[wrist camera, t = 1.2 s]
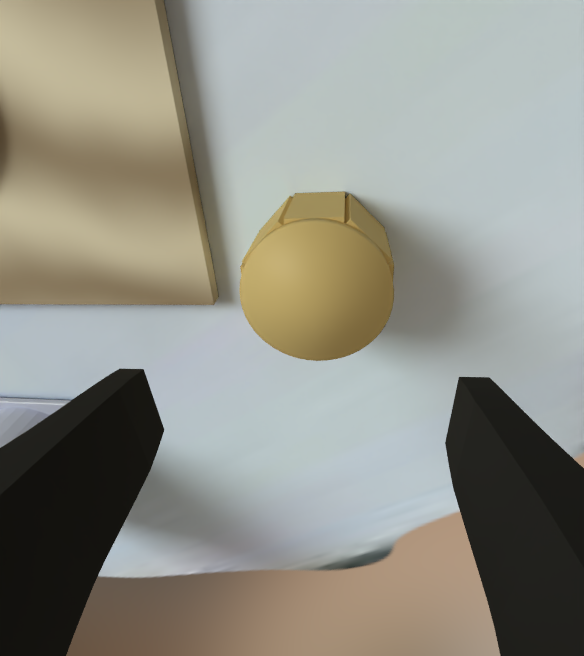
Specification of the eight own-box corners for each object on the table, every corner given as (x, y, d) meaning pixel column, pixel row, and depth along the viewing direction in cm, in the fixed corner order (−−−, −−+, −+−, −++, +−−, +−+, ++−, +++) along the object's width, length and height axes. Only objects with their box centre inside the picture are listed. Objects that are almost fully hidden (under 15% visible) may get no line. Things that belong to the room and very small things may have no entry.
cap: (380, 309, 18) (388, 362, 15) (266, 309, 19) (249, 359, 15) (388, 190, 15) (400, 221, 12) (254, 195, 16) (229, 225, 13)
